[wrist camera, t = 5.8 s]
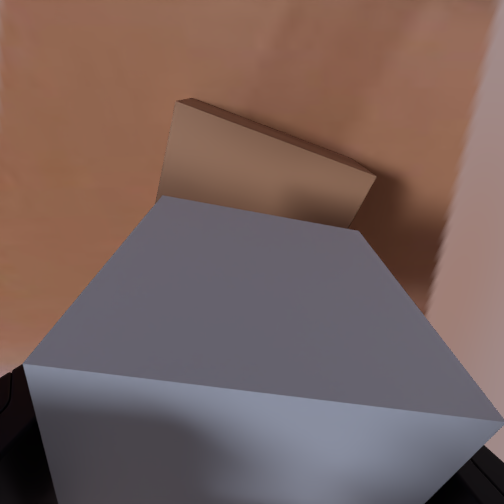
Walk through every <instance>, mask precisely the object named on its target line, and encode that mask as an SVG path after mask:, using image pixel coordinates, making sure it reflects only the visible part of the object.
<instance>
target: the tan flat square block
mask: <svg viewBox="0 0 504 504" xmlns="http://www.w3.org/2000/svg"><path fill="white" fill-rule="evenodd" d="M376 177H377V176H376V175H374V174H373V173H371V172H370V171H368V170H367V169H366V168H364V167H363V166H361V165H360V164H359V163H357V162H356V161H354V160H353V159H351V158H349V157H346V156H343V155H341V154H338V153H335V152H333V151H330V150H328V149H325V148H322V147H320V146H317V145H314V144H312V143H309V142H306V141H304V140H301V139H299V138H296V137H293V136H291V135H288V134H285V133H283V132H280V131H278V130H275V129H272V128H270V127H267V126H264V125H262V124H259V123H257V122H254V121H251V120H249V119H246V118H243V117H241V116H238V115H235V114H233V113H230V112H228V111H225V110H222V109H220V108H217V107H214V106H212V105H209V104H207V103H204V102H201V101H199V100H196V99H193V98H189V99H184V100H178V101H176V102H175V107H174V112H173V117H172V122H171V127H170V132H169V137H168V142H167V147H166V152H165V157H164V162H163V167H162V172H161V177H160V182H159V187H158V192H157V197H156V202H155V204H156V203H157V201H158V200H159V199H160V198H161V196H162V195H164V196H169V197H175V198H180V199H186V200H191V201H197V202H202V203H208V204H213V205H219V206H224V207H230V208H235V209H241V210H246V211H252V212H257V213H263V214H268V215H274V216H279V217H285V218H290V219H296V220H301V221H307V222H312V223H318V224H323V225H329V226H334V227H340V228H345V229H348V227H349V226H350V224H351V222H352V220H353V218H354V217H355V215H356V213H357V211H358V209H359V208H360V206H361V204H362V202H363V200H364V199H365V197H366V195H367V193H368V191H369V190H370V188H371V186H372V184H373V182H374V181H375V179H376Z"/></svg>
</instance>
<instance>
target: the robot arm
mask: <svg viewBox="0 0 504 504" xmlns="http://www.w3.org/2000/svg"><path fill="white" fill-rule="evenodd" d="M0 504H58V501H57V497H56V493H55V489H54V485H53V481H52V477H51V473H50V469H49V465H48V461H47V457H46V453H45V450H44V446H43V442H42V438H41V434H40V430H39V426H38V422H37V418H36V414H35V410H34V406H33V402H32V399H31V395H30V391H29V387H28V383H27V379H26V375H25V371H24V367H23V364H21V365H20V366H18V367H17V368H15V369H13V370H12V373H11V372H9V373H7V374H5V375H4V376H2V377H1V378H0ZM425 504H504V463H503V462H502V461H501V460H500V459H499V458H498V457H497V456H496V455H494V454H493V453H492V452H491V451H490V450H489V449H488V448H487V447H485V446H484V445H483V446H482V447H481V448H480V449H479V450H478V451H477V452H476V453H475V454H474V455H473V456H472V457H471V458H470V459H469V460H468V461H467V462H466V463H465V464H464V465H463V466H462V467H461V468H460V469H459V470H458V471H457V472H456V473H455V474H454V475H453V476H452V477H451V478H450V479H449V480H448V481H447V482H446V483H445V484H444V485H443V486H442V487H441V488H440V489H439V490H438V491H437V492H436V493H435V494H434V495H433V496H432V497H431V498H430V499H429V500H428V501H427V502H426V503H425Z"/></svg>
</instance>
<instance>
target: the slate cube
mask: <svg viewBox="0 0 504 504" xmlns="http://www.w3.org/2000/svg"><path fill="white" fill-rule="evenodd" d="M23 367H24V371H25V375H26V379H27V383H28V387H29V391H30V395H31V399H32V402H33V406H34V410H35V414H36V418H37V422H38V426H39V430H40V434H41V438H42V442H43V446H44V450H45V453H46V457H47V461H48V465H49V469H50V473H51V477H52V481H53V485H54V489H55V493H56V497H57V501H58V504H425V503H426V502H427V501H428V500H429V499H430V498H431V497H432V496H433V495H434V494H435V493H436V492H437V491H438V490H439V489H440V488H441V487H442V486H443V485H444V484H445V483H446V482H447V481H448V480H449V479H450V478H451V477H452V476H453V475H454V474H455V473H456V472H457V471H458V470H459V469H460V468H461V467H462V466H463V465H464V464H465V463H466V462H467V461H468V460H469V459H470V458H471V457H472V456H473V455H474V454H475V453H476V452H477V451H478V450H479V449H480V448H481V447H482V446H483V445H484V444H485V443H486V442H487V441H488V440H489V439H490V438H491V437H492V436H493V435H494V434H495V433H496V432H497V431H498V430H499V429H500V428H501V427H502V426H503V425H504V419H503V417H502V416H501V415H500V413H499V412H498V411H497V410H496V408H495V407H494V406H493V404H492V403H491V402H490V400H489V399H488V398H487V397H486V395H485V394H484V393H483V391H482V390H481V389H480V387H479V386H478V385H477V384H476V382H475V381H474V380H473V378H472V377H471V376H470V375H469V373H468V372H467V371H466V369H465V368H464V367H463V365H462V364H461V363H460V362H459V360H458V359H457V358H456V356H455V355H454V354H453V352H452V351H451V350H450V349H449V347H448V346H447V345H446V343H445V342H444V341H443V340H442V338H441V337H440V336H439V334H438V333H437V332H436V330H435V329H434V328H433V327H432V326H431V324H430V323H429V321H428V320H427V319H426V317H425V316H424V315H423V314H422V312H421V311H420V310H419V308H418V307H417V306H416V304H415V303H414V302H413V301H412V299H411V298H410V297H409V295H408V294H407V293H406V292H405V290H404V289H403V288H402V286H401V285H400V284H399V282H398V281H397V280H396V279H395V277H394V276H393V275H392V273H391V272H390V271H389V269H388V268H387V267H386V266H385V264H384V263H383V262H382V260H381V259H380V258H379V256H378V255H377V254H376V253H375V251H374V250H373V249H372V247H371V246H370V245H369V244H368V242H367V241H366V240H365V238H364V237H363V236H362V234H361V233H360V232H359V231H356V230H351V229H345V228H340V227H334V226H329V225H323V224H318V223H312V222H307V221H301V220H296V219H290V218H285V217H279V216H274V215H268V214H263V213H257V212H252V211H246V210H241V209H235V208H230V207H224V206H219V205H213V204H208V203H202V202H197V201H191V200H186V199H180V198H175V197H169V196H164V195H162V196H161V198H160V199H159V200H158V201H157V203H156V204H155V205H154V206H153V207H152V209H151V210H150V211H149V212H148V213H147V215H146V216H145V217H144V218H143V219H142V221H141V222H140V223H139V224H138V225H137V227H136V228H135V229H134V230H133V231H132V233H131V234H130V235H129V236H128V237H127V239H126V240H125V241H124V242H123V243H122V245H121V246H120V247H119V248H118V249H117V251H116V252H115V253H114V254H113V256H112V257H111V258H110V259H109V260H108V262H107V263H106V264H105V265H104V266H103V268H102V269H101V270H100V271H99V272H98V274H97V275H96V276H95V277H94V278H93V280H92V281H91V282H90V283H89V284H88V286H87V287H86V288H85V289H84V290H83V292H82V293H81V294H80V295H79V296H78V298H77V299H76V300H75V301H74V302H73V304H72V305H71V306H70V307H69V309H68V310H67V311H66V312H65V313H64V315H63V316H62V317H61V318H60V319H59V321H58V322H57V323H56V324H55V325H54V327H53V328H52V329H51V330H50V331H49V333H48V334H47V335H46V336H45V337H44V339H43V340H42V341H41V342H40V343H39V345H38V346H37V347H36V348H35V349H34V351H33V352H32V353H31V354H30V355H29V357H28V358H27V359H26V360H25V361H24V363H23Z"/></svg>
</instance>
